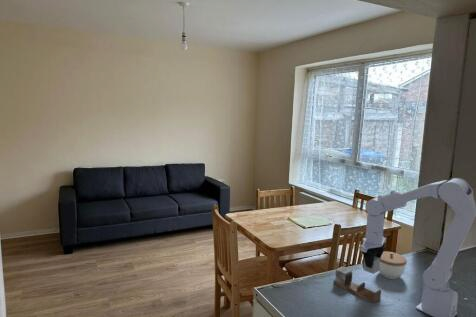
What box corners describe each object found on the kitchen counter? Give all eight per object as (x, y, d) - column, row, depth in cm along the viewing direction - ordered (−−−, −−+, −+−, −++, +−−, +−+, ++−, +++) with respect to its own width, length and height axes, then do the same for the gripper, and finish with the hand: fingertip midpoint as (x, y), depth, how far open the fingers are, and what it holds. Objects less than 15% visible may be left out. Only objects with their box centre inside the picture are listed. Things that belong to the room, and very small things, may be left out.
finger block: (379, 270, 119) (379, 258, 118) (373, 274, 116) (374, 261, 116) (367, 266, 122) (368, 253, 122) (362, 269, 120) (362, 256, 119)
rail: (380, 298, 111) (381, 283, 110) (373, 303, 108) (375, 287, 107) (340, 279, 123) (341, 265, 123) (333, 283, 121) (334, 269, 120)
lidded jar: (397, 285, 120) (399, 262, 118) (370, 274, 128) (371, 252, 127) (409, 276, 127) (411, 254, 125) (383, 266, 135) (384, 245, 133)
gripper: (374, 223, 124) (372, 256, 126) (353, 231, 116) (351, 266, 117) (392, 228, 119) (389, 262, 121) (372, 237, 110) (369, 274, 112)
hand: (372, 265), depth 119 cm, fingers closed on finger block, 4 cm apart
